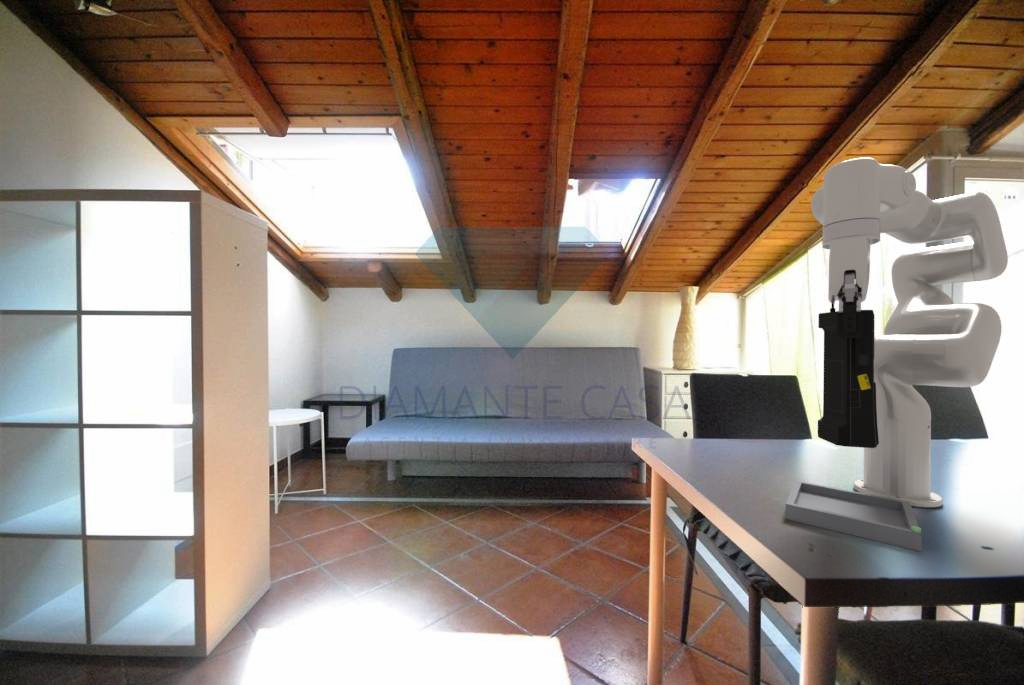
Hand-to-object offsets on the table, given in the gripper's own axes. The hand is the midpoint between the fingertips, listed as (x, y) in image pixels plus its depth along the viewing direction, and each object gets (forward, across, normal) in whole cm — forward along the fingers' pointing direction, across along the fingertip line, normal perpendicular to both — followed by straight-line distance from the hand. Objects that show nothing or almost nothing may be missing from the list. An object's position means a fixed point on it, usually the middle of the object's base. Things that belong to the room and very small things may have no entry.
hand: (849, 337), depth 68 cm
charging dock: (+31, 0, 0) cm, 31 cm away
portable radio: (+18, 0, 0) cm, 18 cm away
